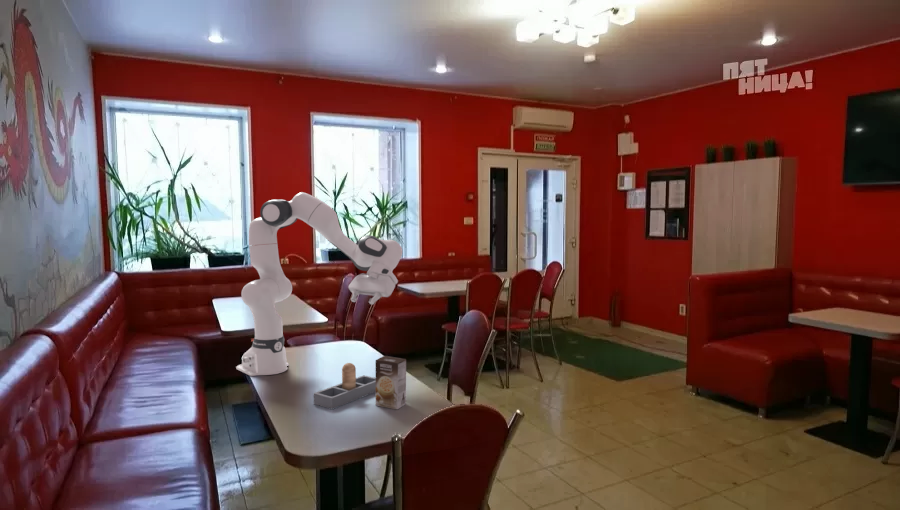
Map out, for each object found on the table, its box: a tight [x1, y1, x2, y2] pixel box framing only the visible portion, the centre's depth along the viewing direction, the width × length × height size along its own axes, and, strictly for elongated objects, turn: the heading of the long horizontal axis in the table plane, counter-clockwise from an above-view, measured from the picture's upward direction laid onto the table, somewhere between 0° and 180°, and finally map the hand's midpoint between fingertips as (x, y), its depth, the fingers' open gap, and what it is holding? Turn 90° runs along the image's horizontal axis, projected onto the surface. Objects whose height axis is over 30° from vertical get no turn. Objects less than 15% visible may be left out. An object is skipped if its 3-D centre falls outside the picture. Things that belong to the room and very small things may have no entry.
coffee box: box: [375, 355, 407, 410], centre depth 184 cm, size 9×6×16 cm
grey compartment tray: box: [313, 375, 376, 410], centre depth 193 cm, size 9×25×4 cm, turn 146°
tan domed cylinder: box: [341, 362, 357, 390], centre depth 193 cm, size 5×5×11 cm
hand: (361, 302), depth 208 cm, fingers open, 8 cm apart
